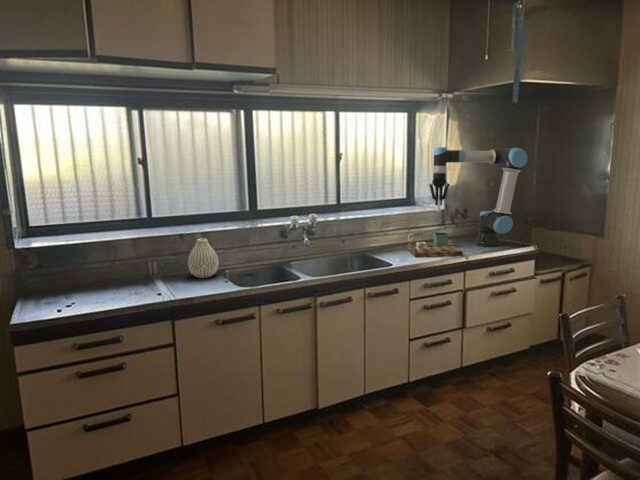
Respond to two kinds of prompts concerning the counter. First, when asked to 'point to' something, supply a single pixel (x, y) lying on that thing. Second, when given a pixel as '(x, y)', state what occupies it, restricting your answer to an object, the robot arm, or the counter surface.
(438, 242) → the flower pot
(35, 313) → the counter surface
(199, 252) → the vase
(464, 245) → the counter surface
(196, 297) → the counter surface
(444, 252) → the wooden tray
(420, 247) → the block
